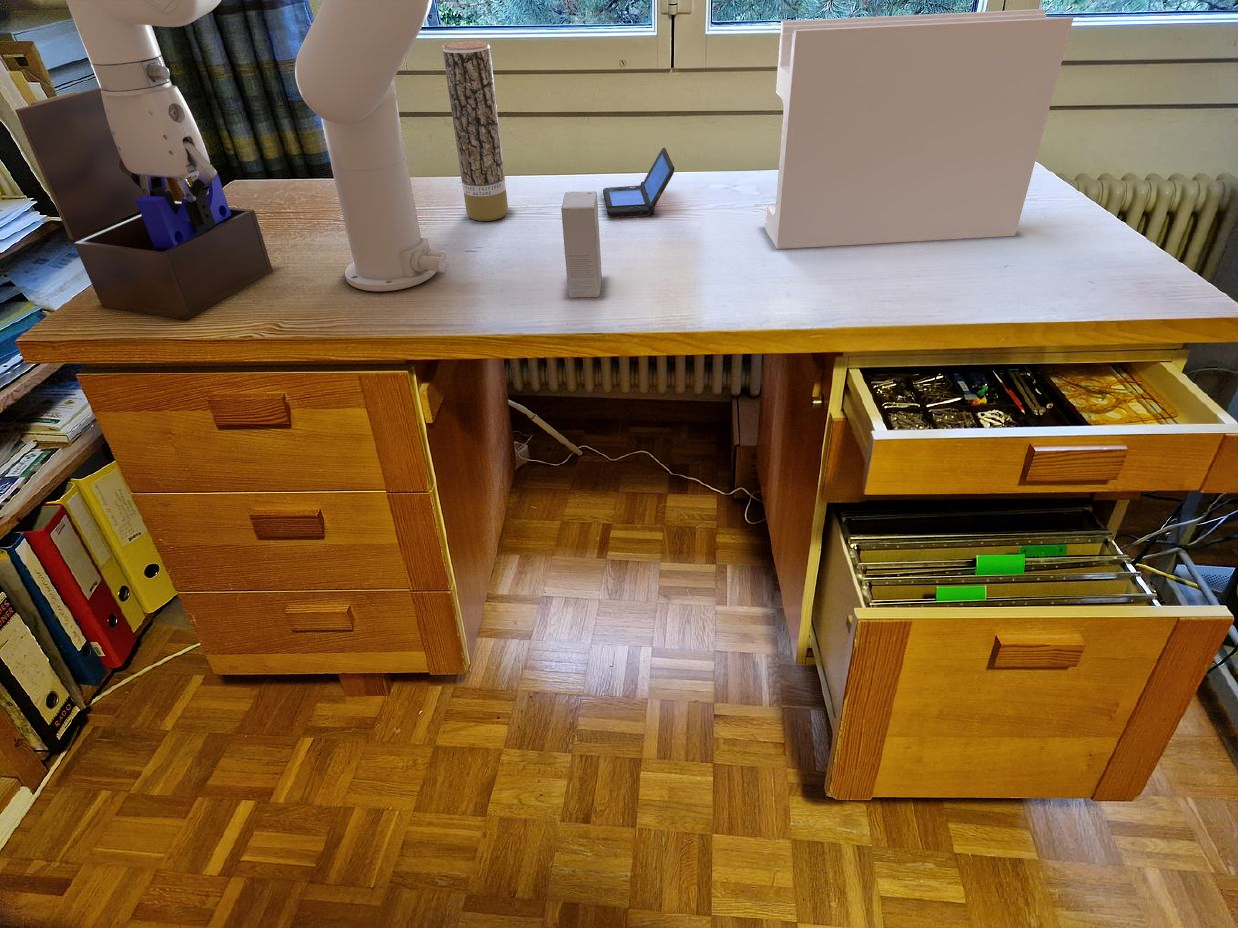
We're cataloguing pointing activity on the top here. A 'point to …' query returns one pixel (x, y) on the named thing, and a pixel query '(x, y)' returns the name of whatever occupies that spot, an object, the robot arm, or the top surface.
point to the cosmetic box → (582, 244)
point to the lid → (80, 161)
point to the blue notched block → (178, 216)
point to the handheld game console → (640, 191)
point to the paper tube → (476, 128)
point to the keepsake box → (174, 266)
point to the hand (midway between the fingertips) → (187, 225)
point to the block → (911, 125)
